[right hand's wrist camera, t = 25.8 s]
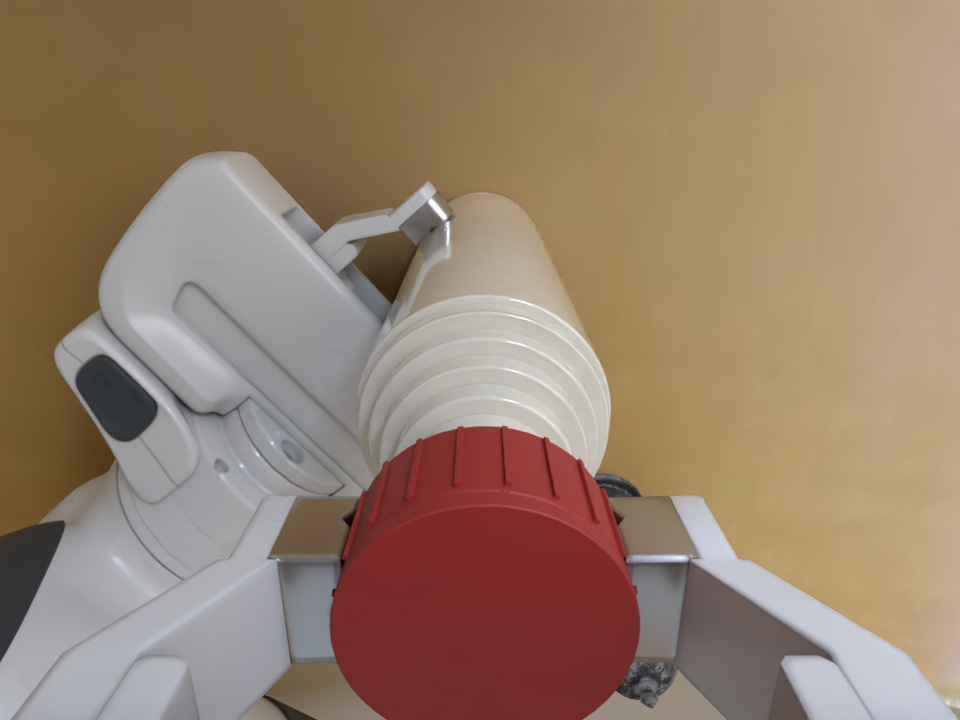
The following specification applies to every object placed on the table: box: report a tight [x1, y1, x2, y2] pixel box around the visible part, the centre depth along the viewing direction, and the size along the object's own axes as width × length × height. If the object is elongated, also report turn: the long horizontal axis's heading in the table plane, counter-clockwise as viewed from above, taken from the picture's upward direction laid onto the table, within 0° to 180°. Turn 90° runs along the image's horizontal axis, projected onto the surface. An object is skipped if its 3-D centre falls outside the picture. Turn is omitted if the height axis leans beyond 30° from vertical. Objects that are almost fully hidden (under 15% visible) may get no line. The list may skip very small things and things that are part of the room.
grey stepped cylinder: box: [594, 474, 677, 708], centre depth 29 cm, size 6×6×12 cm
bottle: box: [355, 192, 611, 479], centre depth 19 cm, size 6×6×23 cm
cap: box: [329, 425, 640, 720], centre depth 9 cm, size 4×4×2 cm
